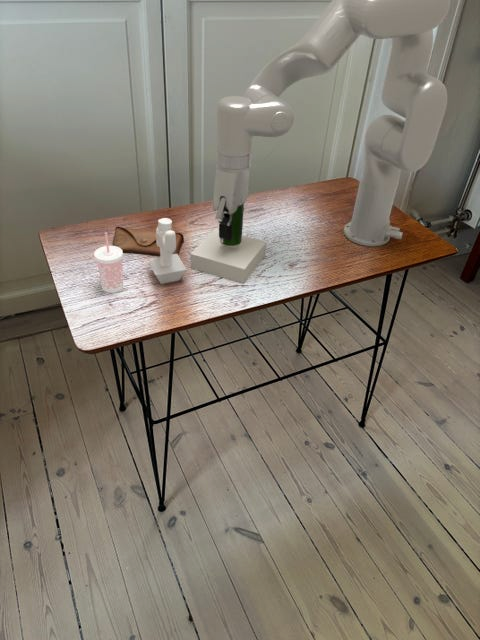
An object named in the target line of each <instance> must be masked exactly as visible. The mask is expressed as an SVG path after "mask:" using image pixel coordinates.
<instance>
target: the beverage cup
mask: <svg viewBox="0 0 480 640" xmlns="http://www.w3.org/2000/svg"><path fill="white" fill-rule="evenodd" d="M104 238H105V245H103V246H101V247H98V248H97V249H95V251H93V255H94V260H95V261H96V265H97V269H98V272H99V278H100V282H101V288H102V290H103V291H104V292H106V293H110V294H111V293H117V292H121V290H123V288H124V272H123V258H124V253H123V251H122V249H121V248H119V247H117V246H112V245H109V240H108V239H109V238H108V232H107V231H104Z"/></svg>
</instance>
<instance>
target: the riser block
mask: <svg viewBox="0 0 480 640" xmlns="http://www.w3.org/2000/svg"><path fill="white" fill-rule="evenodd" d="M219 238H220V237H219V228H217V227H216V228H214V230H213V231H211V233H210V234H208V235H207V236H206V237H205V238H204V239H203V241H201V243H200V244H198V246H196V248H195V249H193V251H192V252H190V257H189V258H190V269H193V270H197V271H201V272H203V273H207V274H210V275H213V276H216V277H221V278H224V279H227V280H230V281H234V282H237V283H241V284H245V282H246V281H247V280H248V278H249V277H250V276H251V274H253V272H254V271H255V270H256V268H257V267H258V265H259V264H260V263H261V261H262V260H263V259H264V258H265V256H266V251H267V241H265V240H262V239H259V238H255V237H251V236H246V235H243V234H242V241H241V243H240V245H239V246H238V247H235V248H227V247H224V246H223V245H222V244H221V243H220V240H219Z"/></svg>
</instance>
